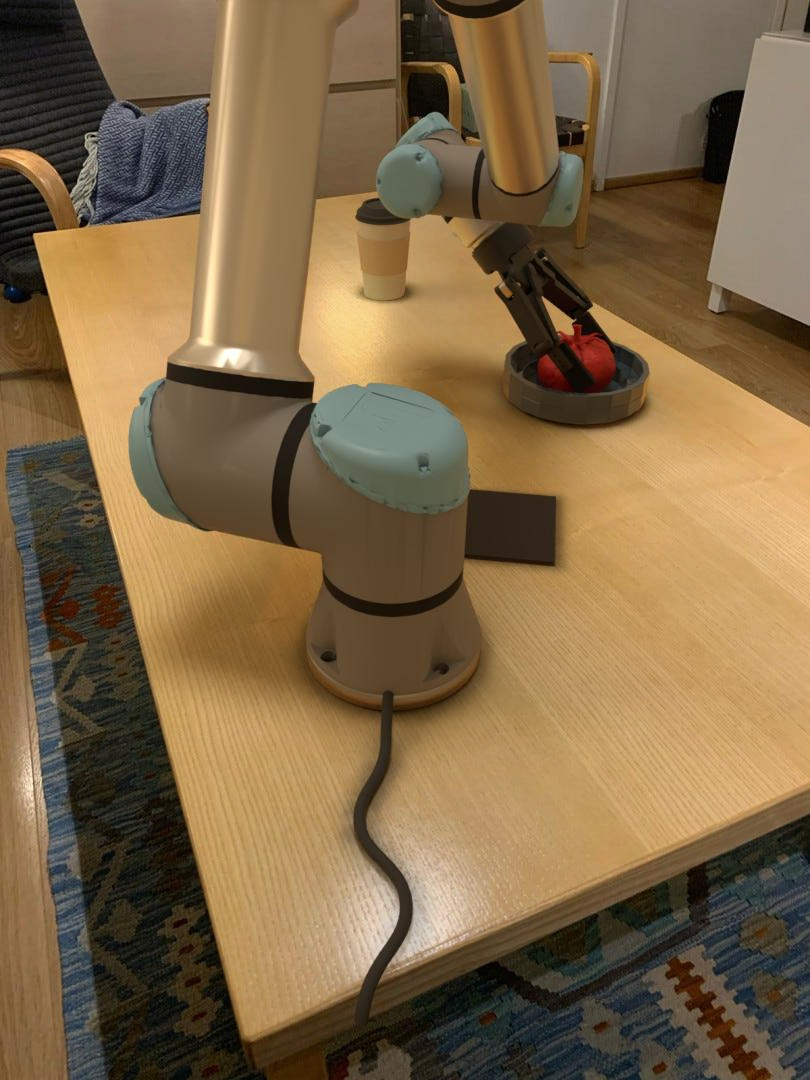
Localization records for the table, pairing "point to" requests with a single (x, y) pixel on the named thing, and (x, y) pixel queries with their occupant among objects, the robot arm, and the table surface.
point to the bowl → (576, 407)
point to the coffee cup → (382, 250)
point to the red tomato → (591, 355)
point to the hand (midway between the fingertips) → (598, 371)
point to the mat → (511, 527)
